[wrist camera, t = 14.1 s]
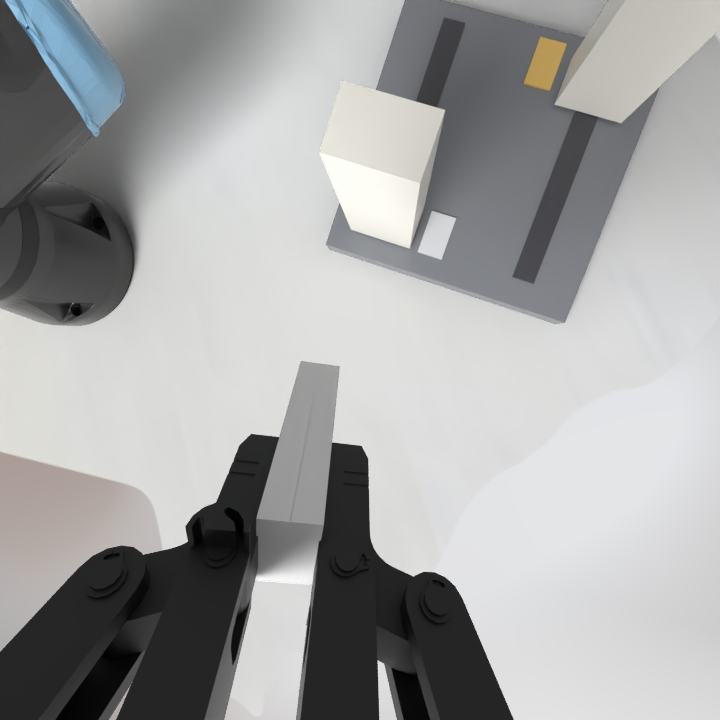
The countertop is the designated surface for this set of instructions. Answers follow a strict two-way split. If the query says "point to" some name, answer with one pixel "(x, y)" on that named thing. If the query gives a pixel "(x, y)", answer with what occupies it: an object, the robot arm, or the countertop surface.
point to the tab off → (381, 160)
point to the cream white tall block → (634, 53)
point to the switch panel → (500, 161)
